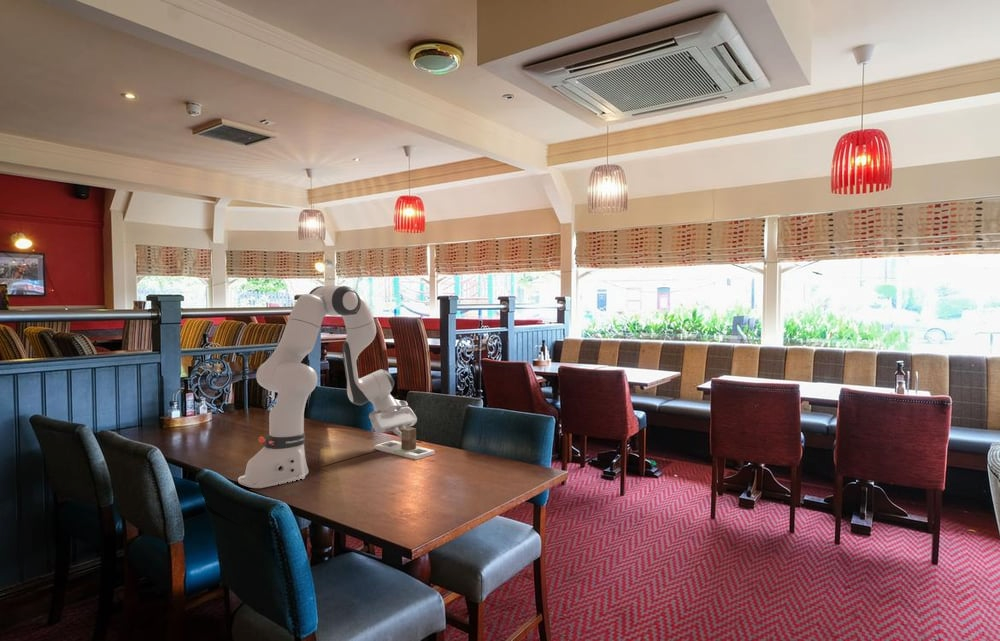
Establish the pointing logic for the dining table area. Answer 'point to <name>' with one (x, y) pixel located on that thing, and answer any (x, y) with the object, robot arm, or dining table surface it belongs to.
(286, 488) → the dining table surface
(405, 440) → the walnut block
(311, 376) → the robot arm
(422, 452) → the board
